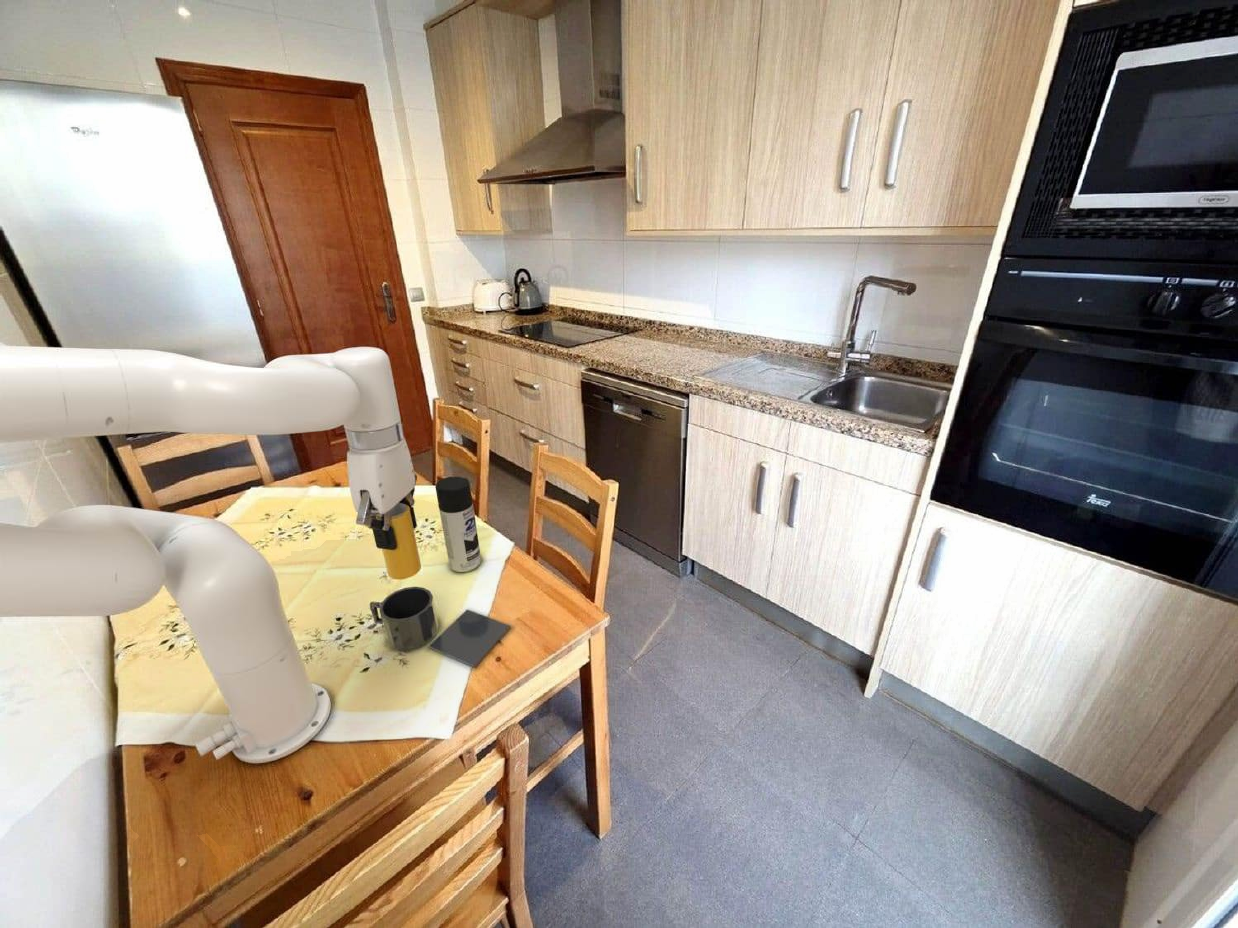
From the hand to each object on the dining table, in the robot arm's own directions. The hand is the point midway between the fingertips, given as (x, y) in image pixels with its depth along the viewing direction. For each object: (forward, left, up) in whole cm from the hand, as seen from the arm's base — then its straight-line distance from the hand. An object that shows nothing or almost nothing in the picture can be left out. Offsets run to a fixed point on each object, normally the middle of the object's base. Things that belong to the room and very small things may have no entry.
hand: (397, 536), depth 81 cm
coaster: (+5, -8, -21) cm, 23 cm away
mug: (-1, +2, -21) cm, 21 cm away
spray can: (+17, +11, -21) cm, 30 cm away
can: (0, 0, -7) cm, 7 cm away
